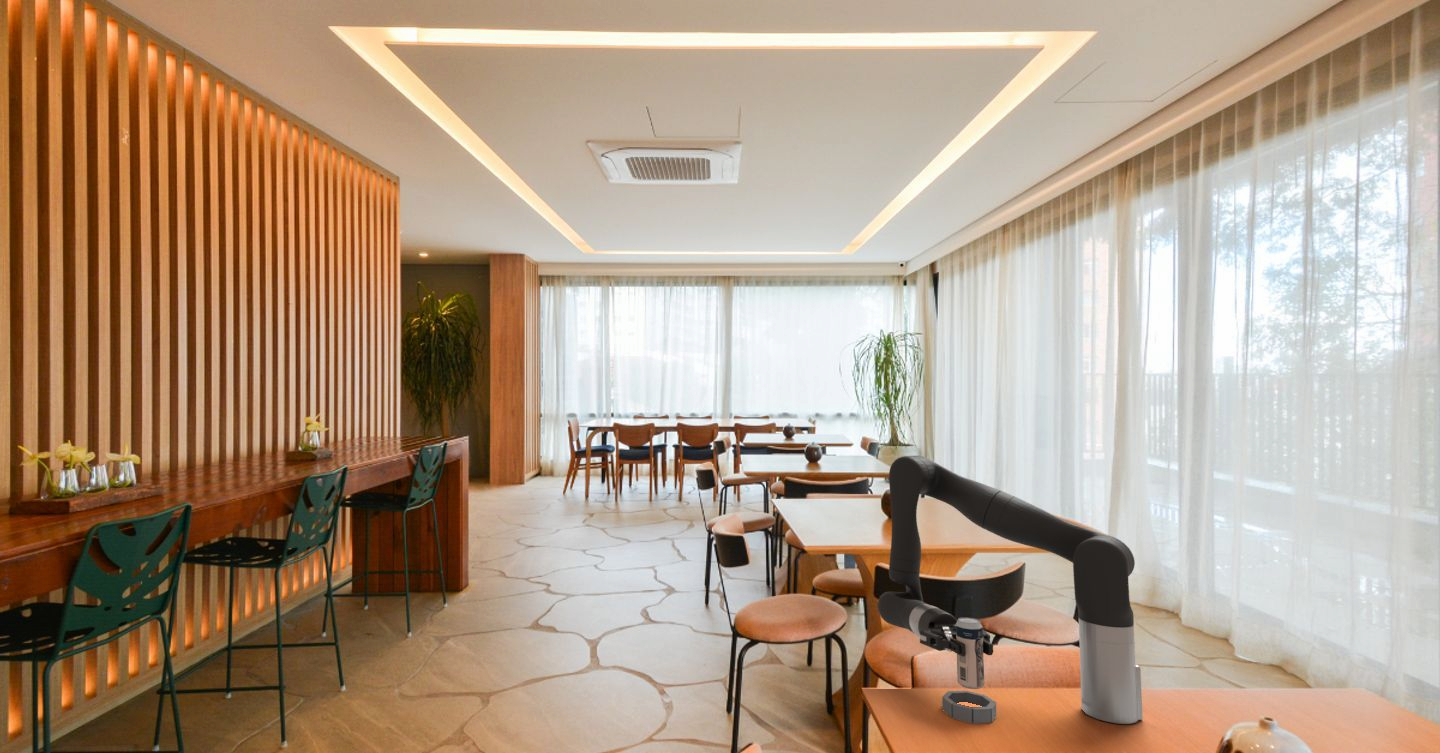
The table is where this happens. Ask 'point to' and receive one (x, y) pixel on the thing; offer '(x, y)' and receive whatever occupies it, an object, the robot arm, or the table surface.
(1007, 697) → the table surface
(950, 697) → the holder ring
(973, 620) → the beer can
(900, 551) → the robot arm
